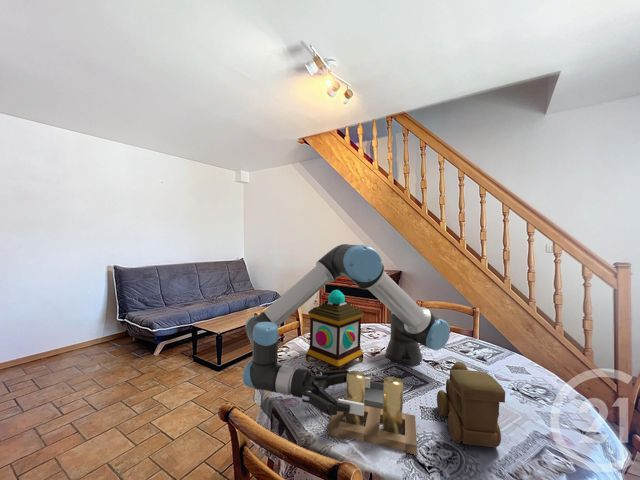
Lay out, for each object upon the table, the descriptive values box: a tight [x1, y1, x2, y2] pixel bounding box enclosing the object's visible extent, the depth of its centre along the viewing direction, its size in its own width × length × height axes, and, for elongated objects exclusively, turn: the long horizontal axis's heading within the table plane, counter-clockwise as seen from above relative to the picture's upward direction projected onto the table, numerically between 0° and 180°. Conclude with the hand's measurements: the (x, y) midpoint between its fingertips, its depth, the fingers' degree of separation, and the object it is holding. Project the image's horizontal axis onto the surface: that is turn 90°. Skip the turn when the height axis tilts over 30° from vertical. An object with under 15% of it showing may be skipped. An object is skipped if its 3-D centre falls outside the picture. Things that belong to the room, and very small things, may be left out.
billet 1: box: [344, 370, 366, 427], centre depth 77 cm, size 5×5×14 cm
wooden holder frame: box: [327, 406, 418, 456], centre depth 76 cm, size 22×12×2 cm, turn 74°
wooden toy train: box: [436, 361, 506, 449], centre depth 77 cm, size 20×11×17 cm, turn 173°
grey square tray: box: [364, 380, 384, 409], centre depth 90 cm, size 12×12×2 cm
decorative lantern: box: [305, 289, 365, 370], centre depth 117 cm, size 20×20×30 cm
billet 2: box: [381, 376, 404, 435], centre depth 74 cm, size 5×5×14 cm
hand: (367, 395), depth 76 cm, fingers open, 13 cm apart
